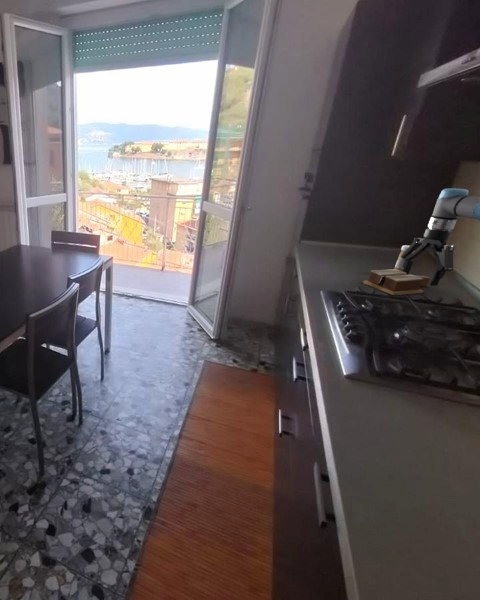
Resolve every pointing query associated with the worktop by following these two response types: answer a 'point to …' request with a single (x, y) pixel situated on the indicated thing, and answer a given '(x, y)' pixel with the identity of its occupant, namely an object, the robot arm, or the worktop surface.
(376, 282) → the cake
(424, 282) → the knife
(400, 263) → the sprinkles bottle
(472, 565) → the worktop surface
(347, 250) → the worktop surface
